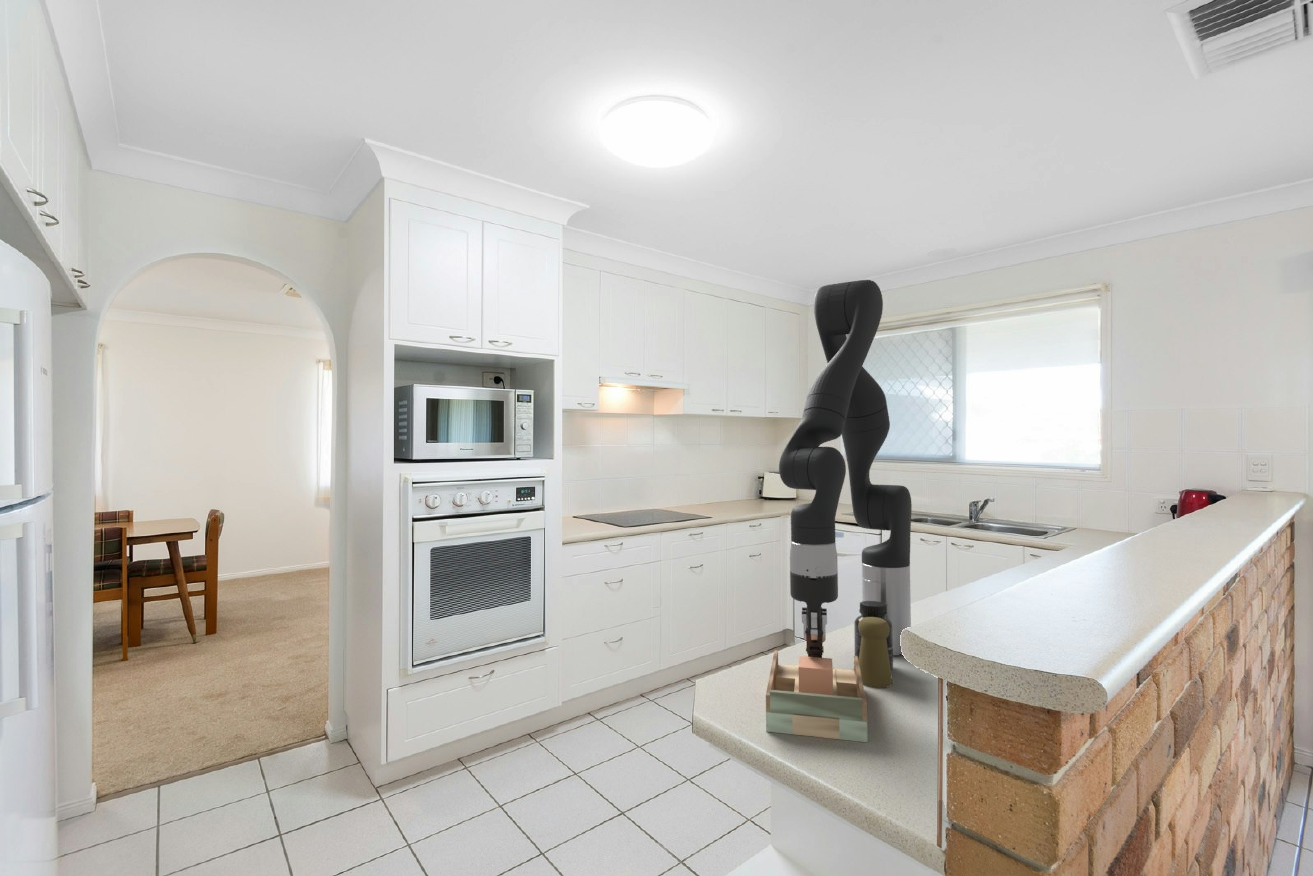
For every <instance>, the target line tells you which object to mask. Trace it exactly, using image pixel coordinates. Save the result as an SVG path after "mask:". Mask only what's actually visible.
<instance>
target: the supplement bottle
mask: <svg viewBox="0 0 1313 876" xmlns="http://www.w3.org/2000/svg"><path fill="white" fill-rule="evenodd" d="M858 611H859V614H860V615H859V616H857V617H856V618H855V619H854V622H853V623H854V624H853V625H854V626H853V628H854V629H853V630H854V631H853V632H854V634H853V635H854V656H858V661H859V654H860V646H861V638H862V636H861V635H860V633H859V629H858V624H859V622H860V620H861V619H862V618H865V617H877V618H881V619H884V620H885V621H887V623H888V625H889V628H890V632H889V636H888V637H887V638H886V641H887V648H888V654H889V661H890V668H891V672H892V671H893V669H894V655H893V624H892V622H891V621H890V620H889V619H888V618H886V615H887V604H885V603H882V602H877V601H861V602H859V610H858Z"/></svg>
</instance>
